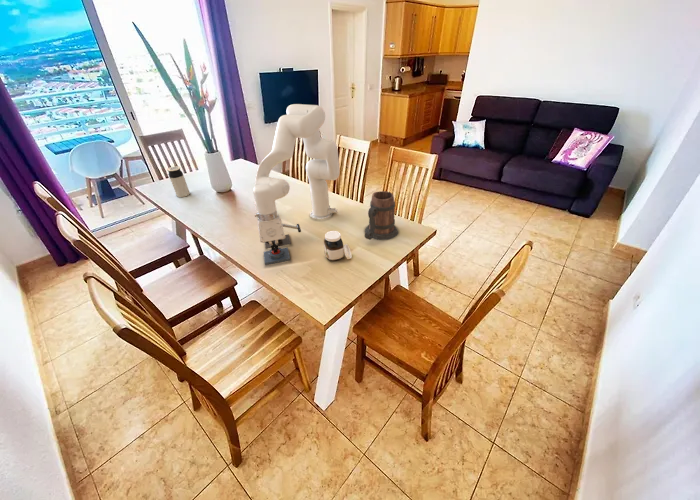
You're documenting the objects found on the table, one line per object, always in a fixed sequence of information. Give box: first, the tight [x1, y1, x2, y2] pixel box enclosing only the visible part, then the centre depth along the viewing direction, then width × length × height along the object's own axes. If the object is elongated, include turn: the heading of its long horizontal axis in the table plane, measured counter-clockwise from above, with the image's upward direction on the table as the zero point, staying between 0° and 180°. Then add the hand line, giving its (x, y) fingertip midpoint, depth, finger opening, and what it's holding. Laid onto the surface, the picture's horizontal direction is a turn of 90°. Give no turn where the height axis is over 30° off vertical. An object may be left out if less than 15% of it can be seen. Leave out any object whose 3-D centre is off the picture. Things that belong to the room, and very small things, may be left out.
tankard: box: [364, 190, 399, 241], centre depth 144 cm, size 24×17×20 cm
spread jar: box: [323, 230, 353, 262], centre depth 131 cm, size 12×11×12 cm
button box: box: [263, 247, 291, 266], centre depth 133 cm, size 11×9×4 cm
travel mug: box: [166, 165, 191, 198], centre depth 190 cm, size 8×8×18 cm
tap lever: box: [282, 223, 302, 233], centre depth 141 cm, size 14×6×2 cm, turn 107°
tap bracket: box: [264, 234, 292, 249], centre depth 141 cm, size 12×9×13 cm
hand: (275, 250), depth 132 cm, fingers closed
